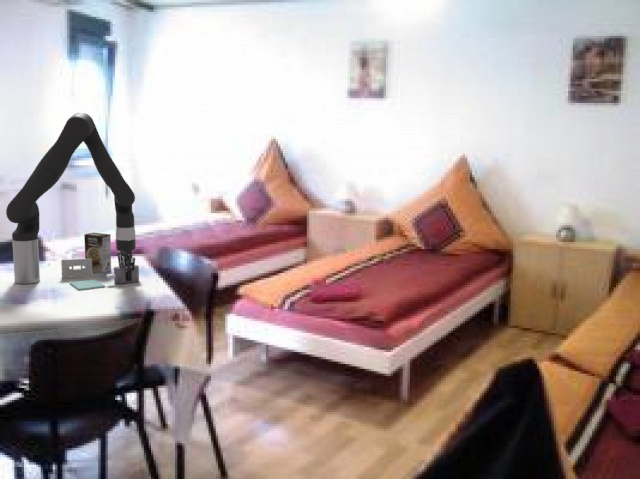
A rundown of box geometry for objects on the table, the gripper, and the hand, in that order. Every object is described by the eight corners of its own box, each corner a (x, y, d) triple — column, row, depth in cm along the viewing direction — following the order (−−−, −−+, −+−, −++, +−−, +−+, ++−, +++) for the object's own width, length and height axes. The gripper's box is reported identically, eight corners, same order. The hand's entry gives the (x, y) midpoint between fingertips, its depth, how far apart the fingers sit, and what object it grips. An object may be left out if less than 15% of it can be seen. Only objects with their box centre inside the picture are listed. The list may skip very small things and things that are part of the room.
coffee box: (84, 271, 282) (83, 234, 280) (94, 268, 288) (93, 232, 286) (102, 273, 280) (101, 236, 277) (112, 270, 286) (110, 233, 283)
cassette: (61, 278, 269) (61, 260, 268) (62, 277, 271) (61, 259, 270) (92, 277, 273) (92, 259, 272) (92, 276, 275) (92, 258, 274)
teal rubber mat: (69, 283, 261) (69, 282, 261) (94, 280, 267) (94, 279, 266) (78, 290, 251) (78, 288, 251) (104, 287, 257) (104, 285, 257)
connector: (105, 282, 262) (105, 267, 261) (136, 278, 270) (136, 264, 269) (109, 284, 259) (108, 269, 258) (140, 280, 267) (140, 266, 266)
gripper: (110, 235, 266) (111, 277, 269) (122, 241, 254) (124, 284, 257) (128, 234, 270) (129, 275, 273) (141, 239, 259) (142, 282, 262)
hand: (126, 279), depth 265 cm, fingers closed on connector, 4 cm apart
